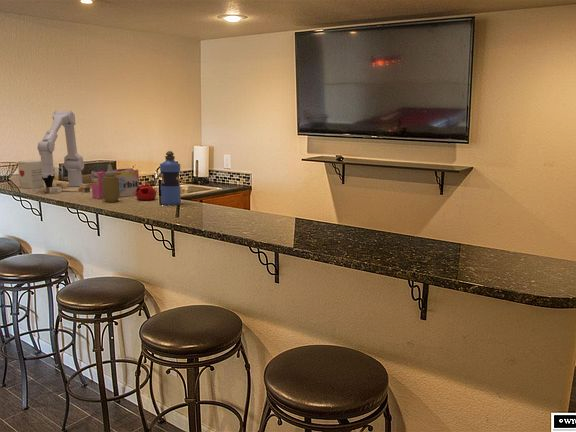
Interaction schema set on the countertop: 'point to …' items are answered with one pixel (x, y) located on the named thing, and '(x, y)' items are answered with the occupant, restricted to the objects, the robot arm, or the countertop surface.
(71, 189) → the stool seat
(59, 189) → the folding leg
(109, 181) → the squeeze bottle
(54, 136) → the robot arm
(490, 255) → the countertop surface
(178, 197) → the water bottle
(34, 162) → the supplement box
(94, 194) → the gum box
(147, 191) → the pomegranate
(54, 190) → the stop bracket
